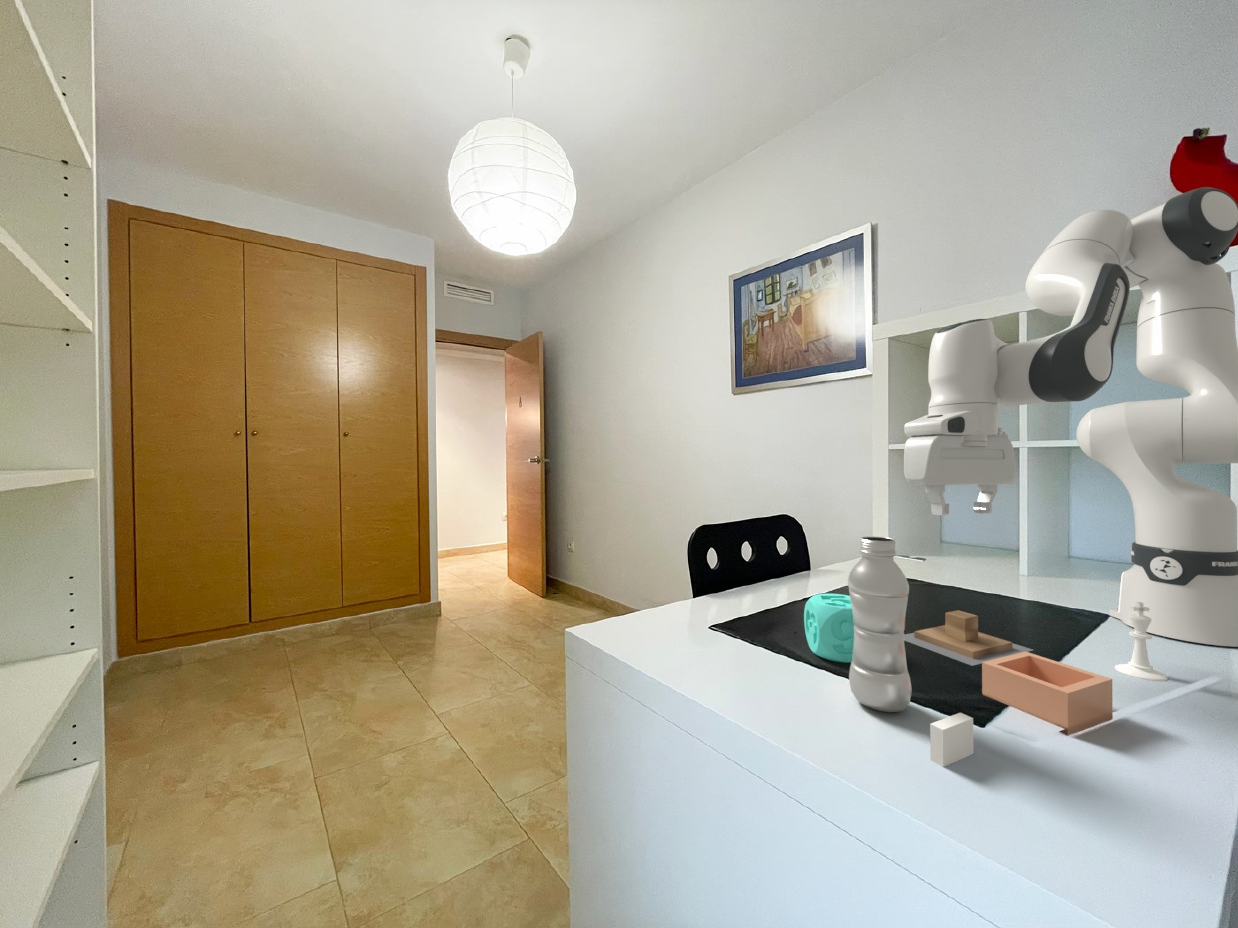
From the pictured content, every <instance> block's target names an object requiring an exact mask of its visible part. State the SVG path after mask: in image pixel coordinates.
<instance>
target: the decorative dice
mask: <svg viewBox="0 0 1238 928" xmlns="http://www.w3.org/2000/svg"><path fill="white" fill-rule="evenodd" d="M803 611H804V612H803V623H804V631H805V637H806V638H805V639H806V641H807V645H808V647H809V648H810V650H811V652H812V653H813V654H815V655H816V656H817V657H819V658H823V659H825V660H828V661H831V662H837V663H848V664H849V663H850V664H851V662H852V656H853V642H854V627H853V626H854V623H853V613H852V605H851V599H850V595H847V594H840V593H819V594H815V595H812V596H811V597H810V598H809V599H807V601H806V603H805V605H804V610H803Z"/></svg>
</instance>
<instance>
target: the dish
mask: <svg viewBox="0 0 1238 928" xmlns="http://www.w3.org/2000/svg"><path fill="white" fill-rule="evenodd" d="M981 678H982V679H981V687H982V688H981V692H982V693H981V694H982V695H983V696H985V697H987V698H990V699H992V700H995V701H998V702H999V703H1002V704H1004V705H1007V706H1009V707H1011V708H1013V709H1016V710H1018V711H1021V712H1023V713H1025V714H1028V715H1030V716H1033V717H1035V718H1038V719H1040V720H1042V721H1044V722H1047V723H1048V724H1049V723H1050V724H1052V725H1054V726H1057V727H1059V728H1061V730H1059V731H1058V732H1059V733H1060V734H1063V735H1064V736H1065V735H1066V736H1070V735H1073V734H1076V733H1078V732H1081V731H1083V730H1086V729H1089V728H1092V727H1095V726H1097V725H1100V724H1102V723H1105V722H1108V721H1111V720H1112V719H1113V712H1114V711H1113V678H1110V677H1107V676H1104V675H1101V674H1098V673H1095V672H1091V671H1088V670H1084V669H1082V668H1079V667H1075V666H1073V665H1070V664H1066V663H1063V662H1061V661H1056V660H1053V659H1050V658H1047V657H1043V656H1040V655H1038V654H1034V653H1031V652H1021V653H1017V654H1013V655H1009V656H1005V657H1001V658H997V659H993V660H989V661H985V662H982V664H981Z"/></svg>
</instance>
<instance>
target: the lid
mask: <svg viewBox="0 0 1238 928" xmlns="http://www.w3.org/2000/svg"><path fill="white" fill-rule="evenodd" d="M944 615H945V618H944V619H945V622H944V623H945V624H944V625H939V626H935V627H930V628H929V627H928V628H924V629H919V630H915V631H914V632H913V633H914V638H917V639H920V640H923V641H925V642H928V643H931V644H934V645H936V646H939V647H942V648H945V649H948V650H950V651H953V652H956V653H959V654H961V655H964V656H967V657H970V658H972V659H974V658H978V657H982V656H986V655H990V654H994V653H998V652H1002V651H1006V650H1010V649H1012V643H1013V641H1010V640H1006V639H1003V638H999V637H996V636H994V635H993V636H992V635H991V634H986V633H984V632H981V631H979V615H976V614H973V613H968V612H966V611H963V610H962V611H961V610H953V611H948V612H945V614H944Z"/></svg>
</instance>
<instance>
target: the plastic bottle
mask: <svg viewBox="0 0 1238 928" xmlns="http://www.w3.org/2000/svg"><path fill="white" fill-rule="evenodd" d="M859 544H860V548H859V554H861V558H860V559H859V561H857V563H855V565H854V566H853V567H852V568H851V571H850V572H849V574H848V577H847V587H848V592H849V596H850V599H851V605H852V613H853V623H854V626H853V627H854V642H853V656H852V662H851V663H850V667H849V671H848V672H849V674H848V680H849V685H850V690H851V692H852V694H853V696H854V697H855V699H856V700H857V701H858V702H859V703H860V704H862V705H863V706H865V707H867V708H870V709H873V710H875V711H880V712H887V713H899V712H902V711H904V710H905V709H906V708H907V706H908V705H910V703H911V697H912V690H913V689H912V683H911V677H910V674H909V670H908V665H907V656H906V646H905V641H904V635H905V632H904V631H905V630H906V629H905V627H906V616H907V615H906V613H907V607H908V602H909V601H908V599H909V593H910V585H909V582H908V579H907V576H906V575H905V573H904V572H903V571H902V569H901V568H900V567H899V566H898V565H899V564H897V562H895V560H894V557H896V556H897V551H896V539H894V538H891V537H885V536H884V537H883V536H862V537H860V543H859Z"/></svg>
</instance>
